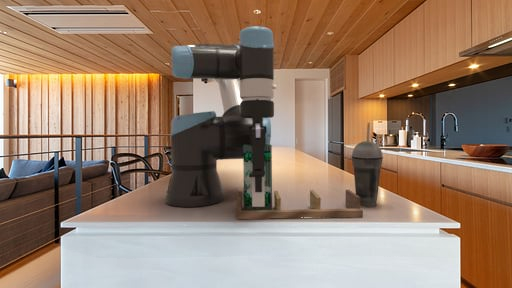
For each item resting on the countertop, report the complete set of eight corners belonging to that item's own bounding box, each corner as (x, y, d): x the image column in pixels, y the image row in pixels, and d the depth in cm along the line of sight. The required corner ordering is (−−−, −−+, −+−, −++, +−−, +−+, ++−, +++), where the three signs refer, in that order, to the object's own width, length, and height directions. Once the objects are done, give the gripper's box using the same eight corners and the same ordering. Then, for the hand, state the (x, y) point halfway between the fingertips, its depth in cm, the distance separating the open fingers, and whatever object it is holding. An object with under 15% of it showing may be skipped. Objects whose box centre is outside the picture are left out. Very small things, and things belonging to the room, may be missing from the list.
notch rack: (236, 219, 64) (236, 200, 64) (238, 207, 73) (238, 191, 73) (362, 217, 64) (362, 198, 64) (348, 206, 73) (348, 189, 73)
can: (241, 213, 67) (240, 145, 66) (249, 206, 73) (248, 143, 72) (268, 215, 66) (267, 146, 65) (273, 207, 72) (273, 144, 71)
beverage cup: (377, 200, 78) (378, 122, 77) (386, 208, 71) (387, 122, 70) (348, 200, 79) (348, 123, 77) (354, 208, 71) (355, 122, 70)
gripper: (277, 96, 58) (278, 214, 60) (271, 102, 78) (271, 192, 79) (238, 96, 58) (240, 215, 60) (241, 103, 77) (242, 192, 79)
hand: (258, 201), depth 69 cm, fingers closed on can, 6 cm apart
